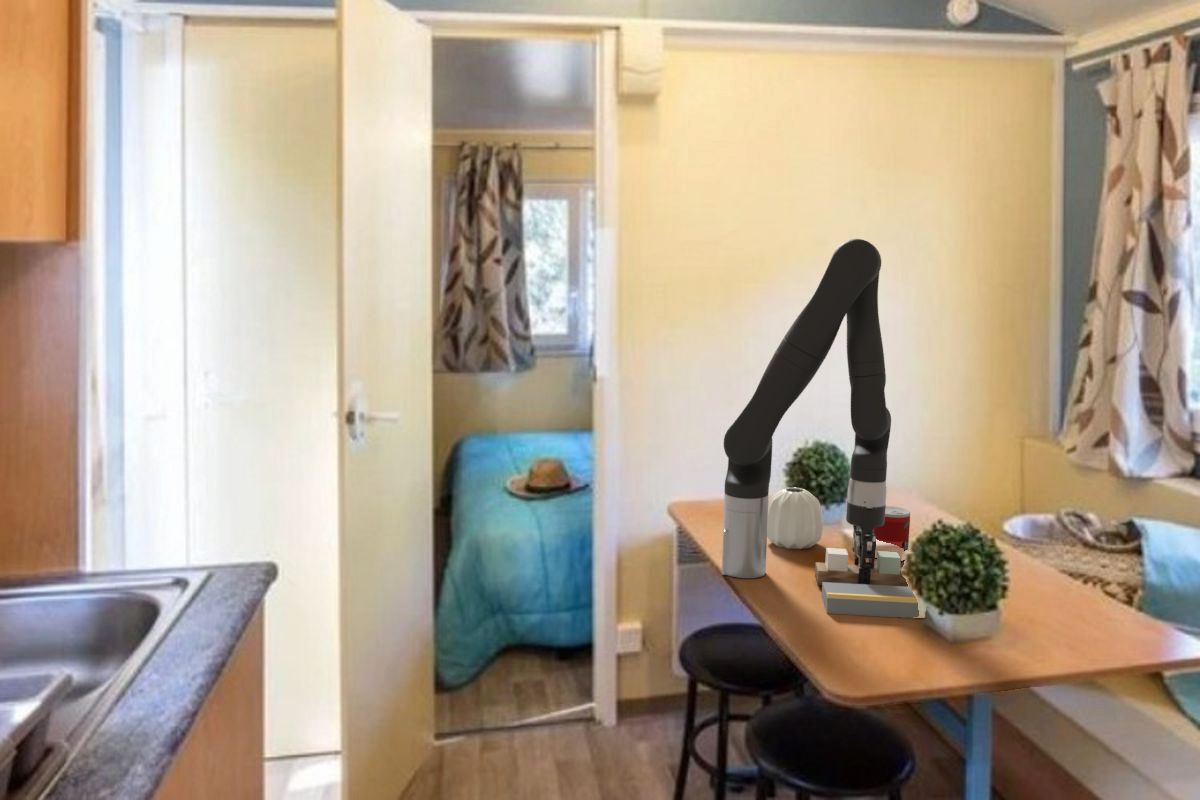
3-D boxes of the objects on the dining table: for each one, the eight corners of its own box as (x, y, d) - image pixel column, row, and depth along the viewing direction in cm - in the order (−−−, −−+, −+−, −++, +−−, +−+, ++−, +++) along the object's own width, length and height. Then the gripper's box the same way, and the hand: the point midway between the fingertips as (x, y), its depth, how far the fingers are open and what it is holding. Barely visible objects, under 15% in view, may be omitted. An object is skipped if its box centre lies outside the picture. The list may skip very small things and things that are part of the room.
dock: (826, 613, 168) (827, 593, 168) (821, 596, 177) (822, 578, 177) (925, 619, 166) (927, 599, 166) (915, 601, 175) (916, 583, 174)
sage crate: (879, 573, 181) (880, 556, 180) (876, 567, 185) (877, 550, 184) (899, 574, 180) (900, 557, 180) (896, 568, 184) (897, 551, 184)
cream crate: (827, 570, 182) (828, 553, 182) (825, 564, 186) (826, 547, 185) (847, 571, 181) (848, 554, 181) (844, 565, 185) (845, 548, 185)
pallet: (817, 584, 182) (818, 570, 182) (814, 576, 187) (815, 562, 187) (909, 591, 180) (910, 576, 179) (903, 581, 185) (904, 567, 185)
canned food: (909, 563, 198) (912, 515, 197) (872, 561, 200) (875, 513, 198) (905, 553, 206) (908, 507, 204) (869, 551, 207) (871, 505, 206)
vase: (751, 540, 215) (753, 486, 213) (798, 534, 221) (801, 481, 219) (786, 556, 202) (788, 499, 201) (835, 549, 208) (838, 493, 206)
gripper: (842, 491, 189) (838, 568, 191) (852, 508, 174) (847, 591, 177) (879, 493, 188) (874, 570, 190) (892, 510, 173) (886, 594, 176)
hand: (861, 580), depth 183 cm, fingers closed on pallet, 5 cm apart
